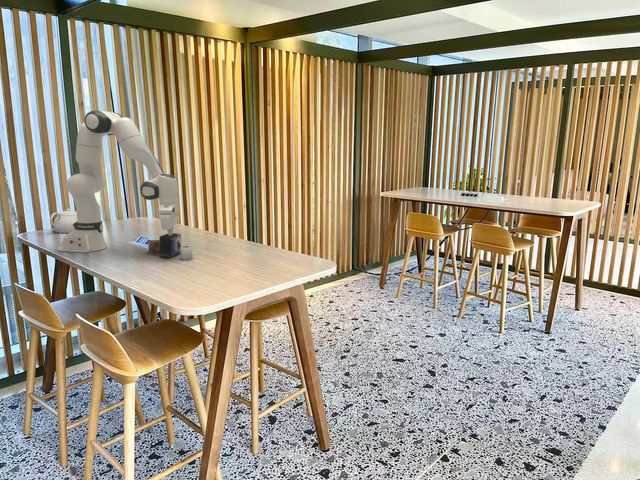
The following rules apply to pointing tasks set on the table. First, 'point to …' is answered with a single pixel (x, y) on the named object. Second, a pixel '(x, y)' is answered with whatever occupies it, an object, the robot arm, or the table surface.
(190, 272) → the table surface
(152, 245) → the walnut cube
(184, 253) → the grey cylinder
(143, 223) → the table surface
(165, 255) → the small box
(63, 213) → the teapot
